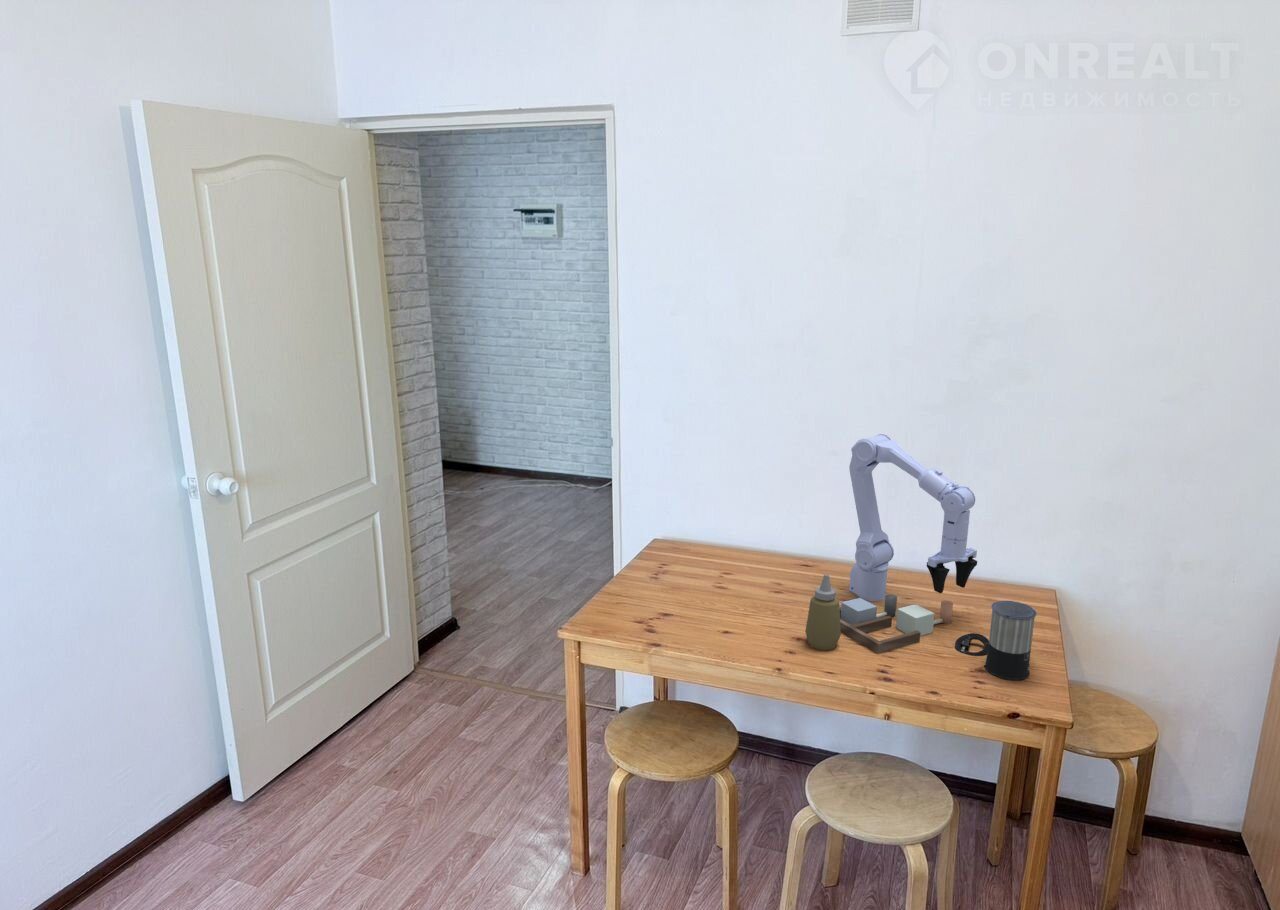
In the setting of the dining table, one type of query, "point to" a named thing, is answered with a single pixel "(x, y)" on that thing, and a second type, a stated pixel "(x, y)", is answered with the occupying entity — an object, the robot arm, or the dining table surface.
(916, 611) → the sage cube mallet
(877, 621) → the shelf
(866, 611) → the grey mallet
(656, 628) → the dining table surface
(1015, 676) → the milk frother
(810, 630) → the squeeze bottle
